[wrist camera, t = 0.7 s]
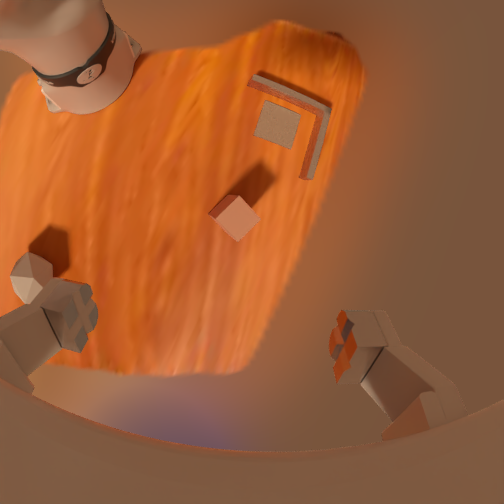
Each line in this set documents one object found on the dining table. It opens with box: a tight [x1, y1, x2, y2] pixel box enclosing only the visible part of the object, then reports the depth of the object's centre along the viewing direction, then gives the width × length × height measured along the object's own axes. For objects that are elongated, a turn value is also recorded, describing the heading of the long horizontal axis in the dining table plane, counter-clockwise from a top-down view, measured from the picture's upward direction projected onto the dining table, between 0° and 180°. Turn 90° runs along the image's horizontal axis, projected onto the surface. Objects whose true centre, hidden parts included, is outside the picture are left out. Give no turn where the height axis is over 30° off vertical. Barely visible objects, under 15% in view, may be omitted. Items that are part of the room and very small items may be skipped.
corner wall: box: [247, 74, 332, 180], centre depth 42 cm, size 14×15×3 cm
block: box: [208, 195, 261, 242], centre depth 41 cm, size 4×4×8 cm
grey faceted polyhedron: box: [10, 252, 53, 304], centre depth 33 cm, size 8×9×10 cm
